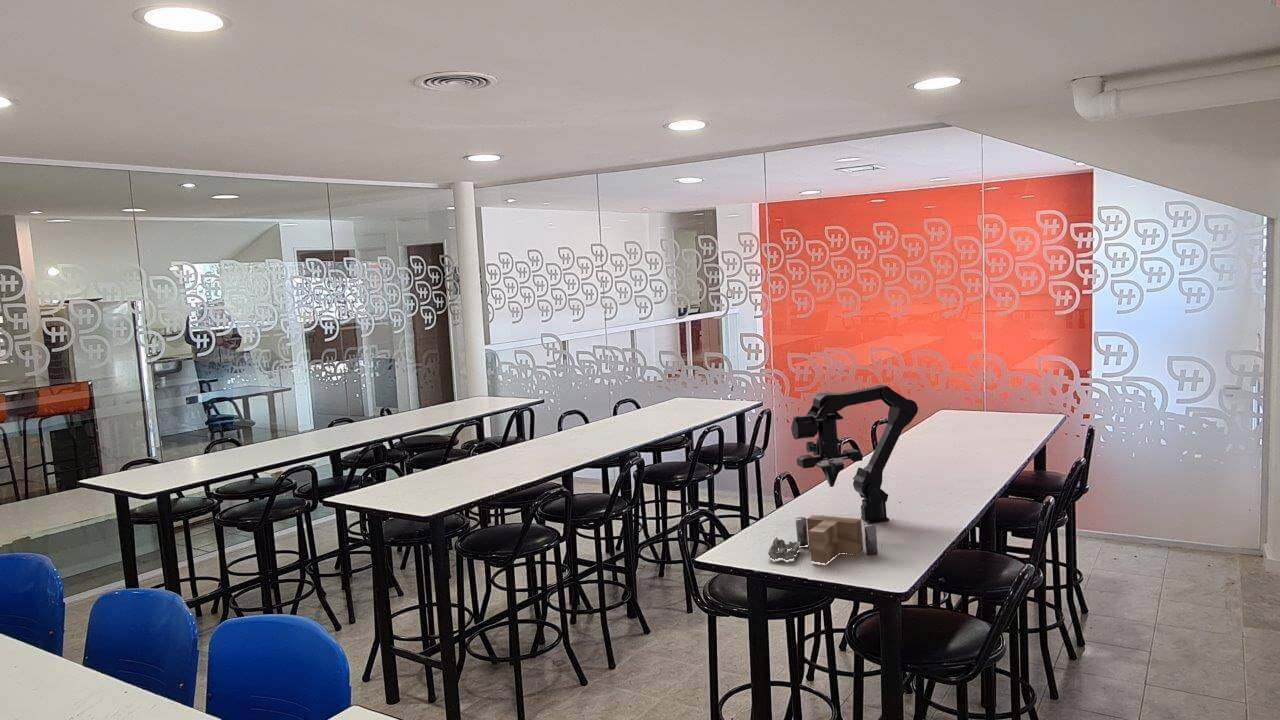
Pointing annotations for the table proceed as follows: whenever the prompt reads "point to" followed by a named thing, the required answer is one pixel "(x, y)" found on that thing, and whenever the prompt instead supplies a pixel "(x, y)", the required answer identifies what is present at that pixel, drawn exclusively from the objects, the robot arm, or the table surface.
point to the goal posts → (869, 535)
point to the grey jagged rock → (783, 549)
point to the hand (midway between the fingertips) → (831, 486)
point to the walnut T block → (833, 537)
